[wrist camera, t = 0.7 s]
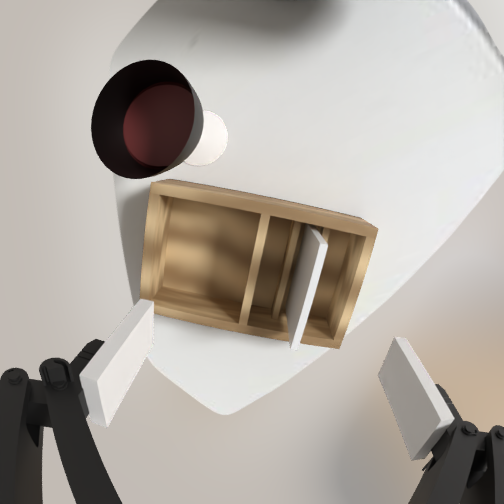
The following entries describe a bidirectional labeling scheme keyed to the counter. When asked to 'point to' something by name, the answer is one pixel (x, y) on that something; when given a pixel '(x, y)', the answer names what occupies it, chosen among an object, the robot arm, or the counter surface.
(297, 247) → the wooden divided tray
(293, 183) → the counter surface
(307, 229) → the white flat panel
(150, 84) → the wineglass
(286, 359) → the counter surface
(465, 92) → the counter surface
